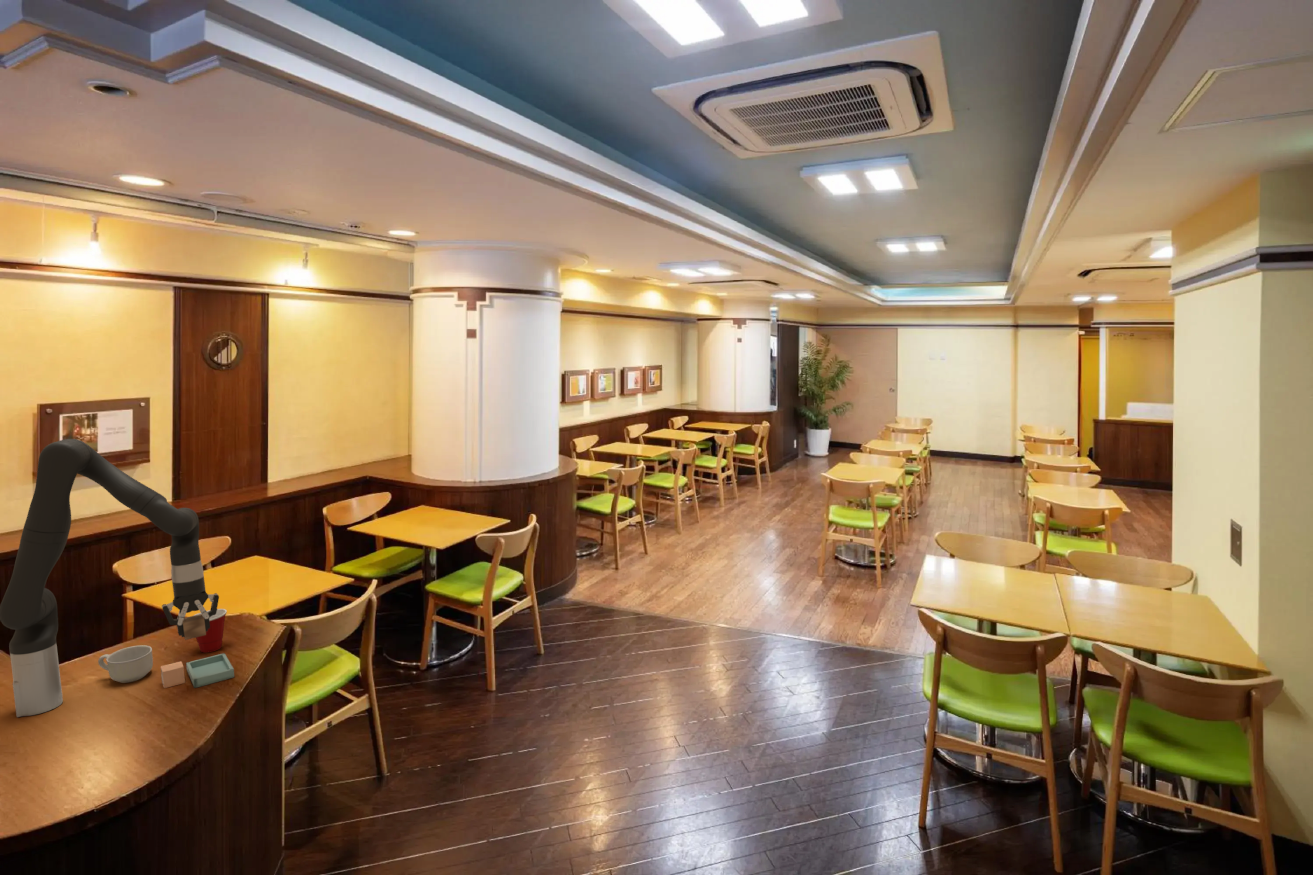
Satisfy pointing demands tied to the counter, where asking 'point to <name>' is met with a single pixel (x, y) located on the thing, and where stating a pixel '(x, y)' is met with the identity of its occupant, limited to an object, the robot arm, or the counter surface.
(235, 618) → the counter surface
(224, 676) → the tray
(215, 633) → the plastic cup
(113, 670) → the teacup
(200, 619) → the walnut cube
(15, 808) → the counter surface
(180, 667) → the terracotta cube
